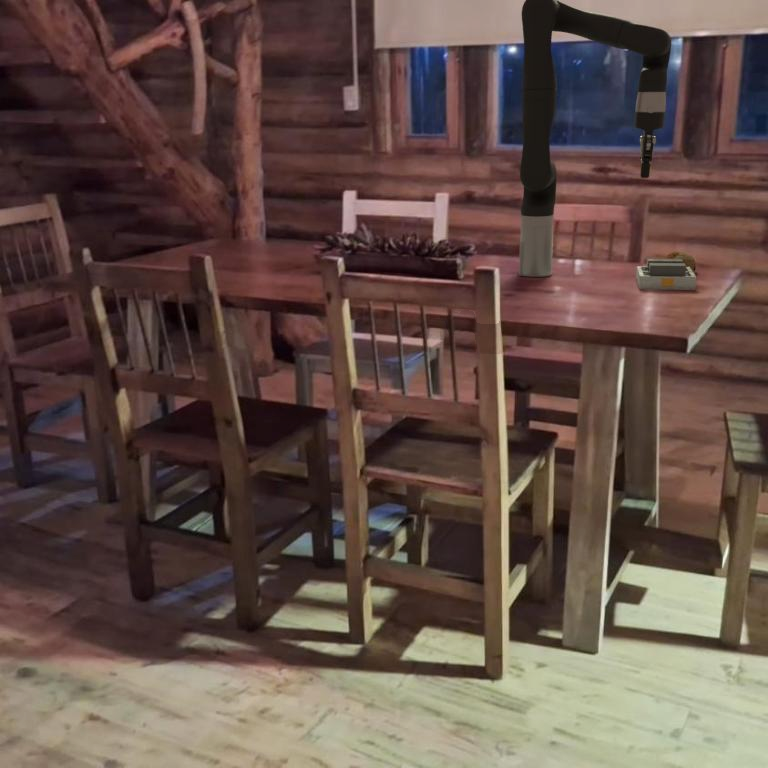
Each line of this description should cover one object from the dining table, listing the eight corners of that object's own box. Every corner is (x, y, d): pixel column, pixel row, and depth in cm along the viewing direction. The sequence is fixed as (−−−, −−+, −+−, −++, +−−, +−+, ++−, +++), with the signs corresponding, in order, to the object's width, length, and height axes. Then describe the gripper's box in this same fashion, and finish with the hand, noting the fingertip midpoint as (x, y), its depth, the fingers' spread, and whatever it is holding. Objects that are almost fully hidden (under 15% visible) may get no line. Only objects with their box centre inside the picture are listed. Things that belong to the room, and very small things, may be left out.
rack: (639, 289, 230) (640, 267, 228) (636, 278, 244) (637, 257, 243) (695, 290, 227) (697, 267, 225) (688, 279, 242) (690, 257, 240)
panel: (648, 284, 232) (650, 265, 230) (648, 281, 235) (649, 262, 234) (684, 284, 230) (686, 265, 228) (683, 281, 233) (684, 263, 232)
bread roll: (687, 288, 247) (702, 263, 244) (654, 272, 249) (668, 247, 246) (687, 282, 256) (702, 258, 253) (655, 266, 258) (669, 242, 255)
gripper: (634, 110, 237) (629, 175, 242) (636, 110, 225) (630, 179, 230) (663, 110, 235) (657, 175, 241) (667, 110, 223) (660, 180, 228)
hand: (644, 177), depth 235 cm, fingers closed
